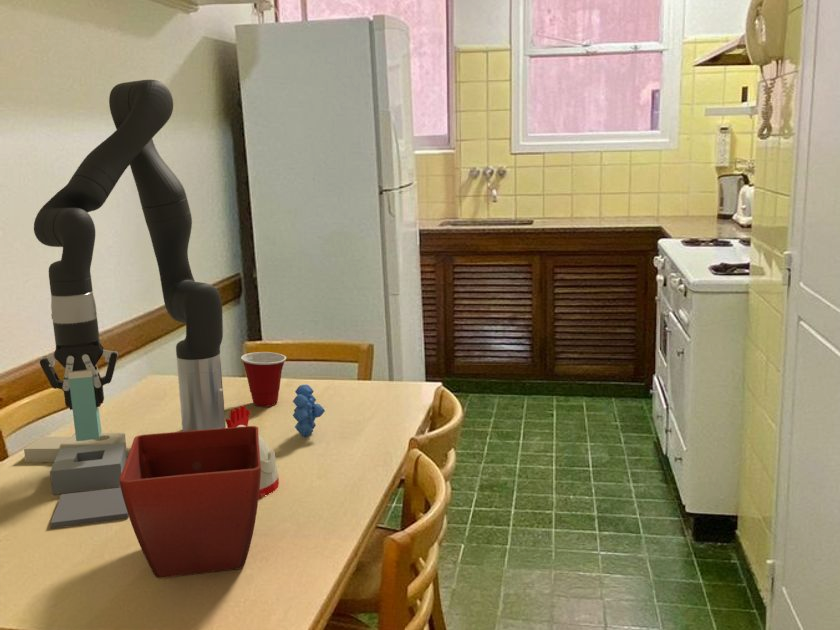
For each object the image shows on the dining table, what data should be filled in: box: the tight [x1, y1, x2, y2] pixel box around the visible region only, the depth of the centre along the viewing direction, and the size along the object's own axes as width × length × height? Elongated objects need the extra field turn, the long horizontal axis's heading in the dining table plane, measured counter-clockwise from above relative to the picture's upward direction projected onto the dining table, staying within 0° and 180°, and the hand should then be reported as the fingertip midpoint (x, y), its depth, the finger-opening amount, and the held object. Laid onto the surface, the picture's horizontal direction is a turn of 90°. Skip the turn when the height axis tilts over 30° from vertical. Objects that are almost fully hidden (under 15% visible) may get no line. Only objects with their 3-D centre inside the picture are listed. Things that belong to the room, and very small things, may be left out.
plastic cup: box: [240, 351, 287, 408], centre depth 201 cm, size 11×11×12 cm
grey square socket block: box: [49, 441, 128, 496], centre depth 157 cm, size 12×12×4 cm
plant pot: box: [119, 425, 261, 579], centre depth 124 cm, size 19×19×17 cm
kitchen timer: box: [225, 405, 280, 499], centre depth 150 cm, size 14×14×15 cm
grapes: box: [292, 384, 326, 438], centre depth 176 cm, size 12×7×12 cm, turn 176°
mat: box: [50, 487, 129, 529], centre depth 143 cm, size 12×12×1 cm
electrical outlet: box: [23, 432, 127, 463], centre depth 169 cm, size 7×4×18 cm
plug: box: [68, 370, 102, 441], centre depth 154 cm, size 4×4×13 cm
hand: (85, 406), depth 154 cm, fingers closed on plug, 4 cm apart
